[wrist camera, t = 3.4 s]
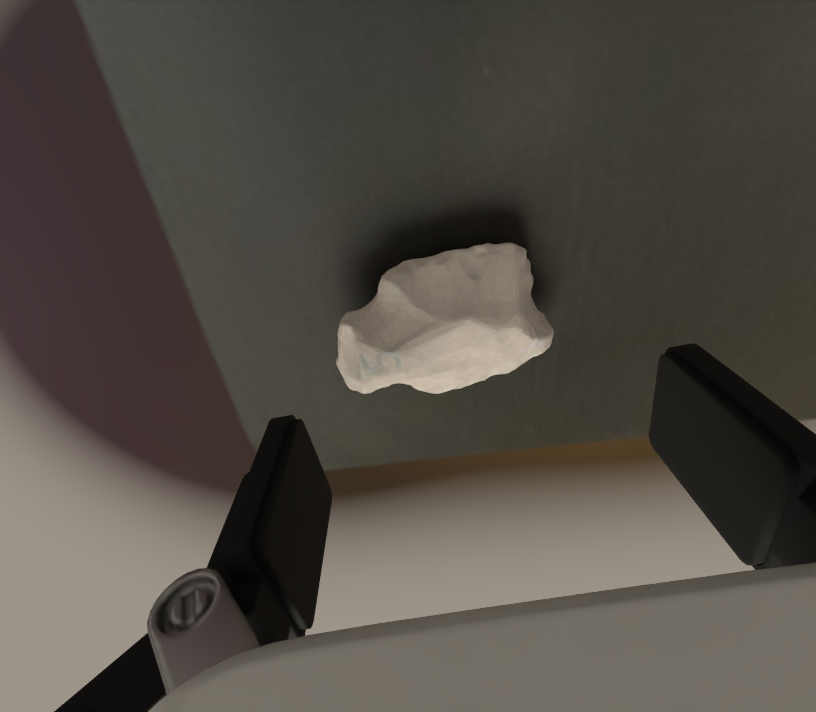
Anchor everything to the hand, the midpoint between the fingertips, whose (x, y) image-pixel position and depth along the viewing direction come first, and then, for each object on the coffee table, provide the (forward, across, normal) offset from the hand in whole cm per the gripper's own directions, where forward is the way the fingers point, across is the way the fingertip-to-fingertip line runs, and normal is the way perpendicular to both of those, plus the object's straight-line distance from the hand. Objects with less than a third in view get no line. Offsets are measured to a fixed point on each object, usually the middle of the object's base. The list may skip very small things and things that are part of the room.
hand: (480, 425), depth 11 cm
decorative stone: (+7, 0, 0) cm, 7 cm away
